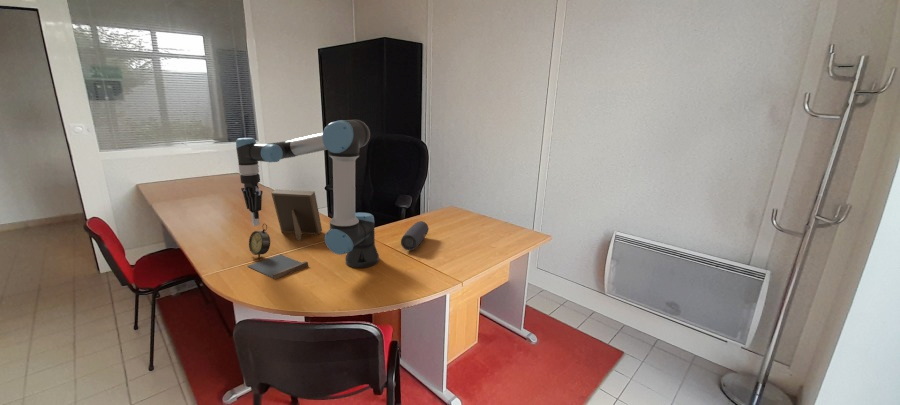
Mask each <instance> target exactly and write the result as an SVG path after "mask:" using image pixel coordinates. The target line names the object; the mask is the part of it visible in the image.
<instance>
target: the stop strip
mask: <svg viewBox="0 0 900 405" xmlns="http://www.w3.org/2000/svg"><path fill="white" fill-rule="evenodd" d="M307 267H309V262H308V261H306V260H305V261H303V262H301V263H300V264H297V265H294V266H292V267H289V268H287V269H284V270H281V271H279V272H276V273H274V274H272V275H273V278H272V279H273V280H277V279H279V278H282V277H284V276H287V275H290V274H291V273H295V272H296V271H300V270H302V269H304V268H307Z"/></svg>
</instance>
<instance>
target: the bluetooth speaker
mask: <svg viewBox="0 0 900 405" xmlns="http://www.w3.org/2000/svg"><path fill="white" fill-rule="evenodd" d="M429 230H430V229H429V225H428V224H427V223H426V222H425V221H423V220H422V221H421V220H419V221H416V222H415V223H414V224H413V225H412V226H410V228H408V230H406V232H405V233H404V235H403V236H402V237H401V240H400V245H401V247H402V248H403V249H404V250H405V251H414V250H415V249H416V248H418V246H419V245H420V244H421V243H422V242H423V240H424V239H426V238H425V237H427V235H428V232H429Z"/></svg>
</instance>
